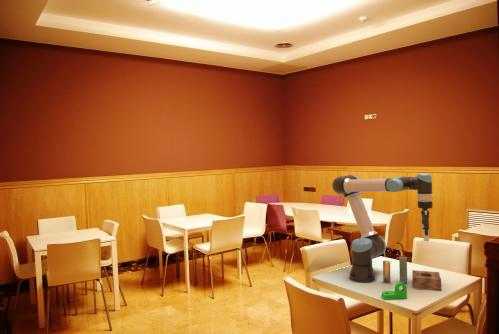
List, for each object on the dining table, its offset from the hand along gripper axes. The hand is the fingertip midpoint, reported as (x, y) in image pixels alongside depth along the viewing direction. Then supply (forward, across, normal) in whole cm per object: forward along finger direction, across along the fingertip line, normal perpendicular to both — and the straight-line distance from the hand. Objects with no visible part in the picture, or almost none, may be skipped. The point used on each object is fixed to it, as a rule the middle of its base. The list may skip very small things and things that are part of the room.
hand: (425, 238), depth 215 cm
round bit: (+27, 0, +21) cm, 34 cm away
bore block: (+27, 0, 0) cm, 27 cm away
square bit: (+27, 0, +12) cm, 29 cm away
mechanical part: (+27, -22, +17) cm, 39 cm away
